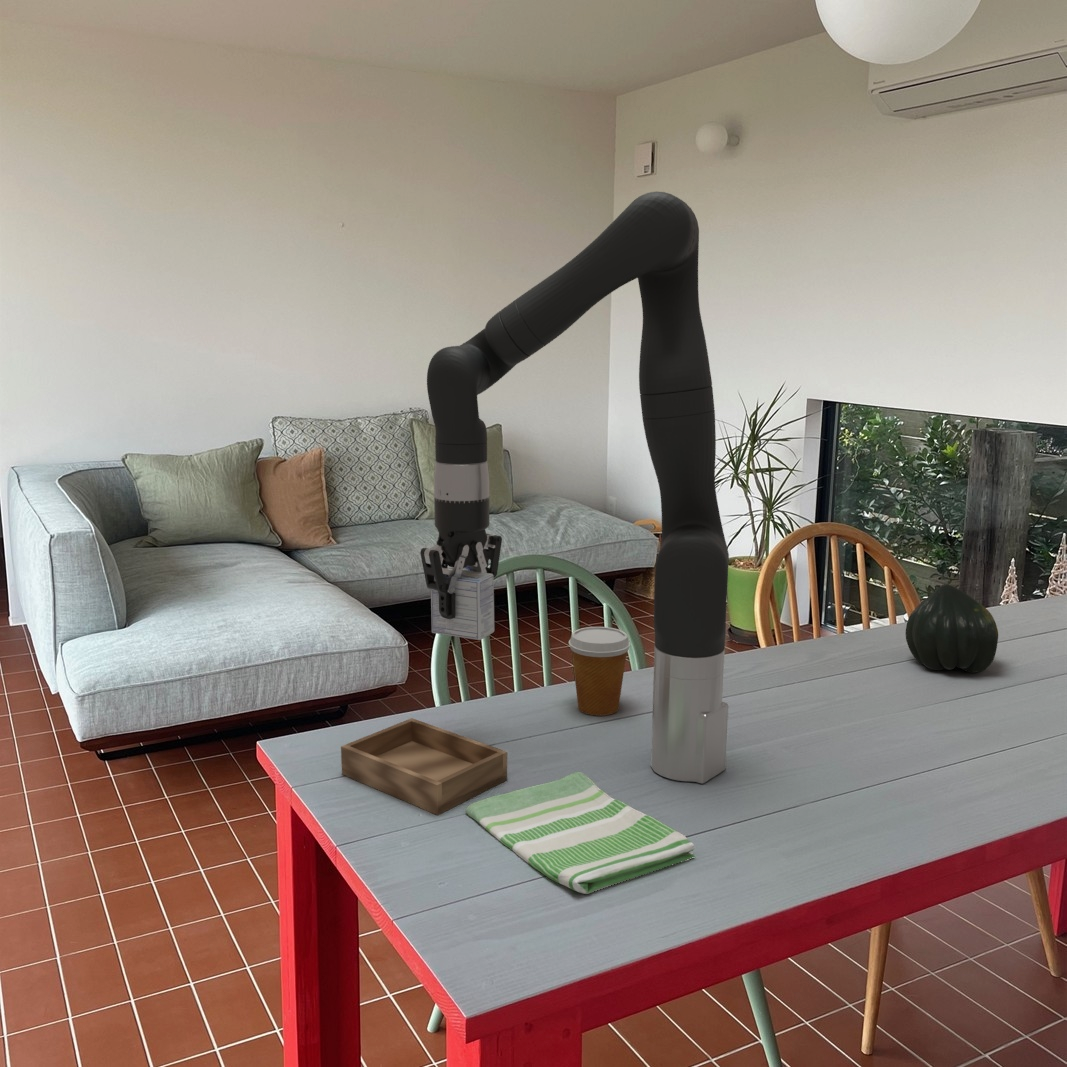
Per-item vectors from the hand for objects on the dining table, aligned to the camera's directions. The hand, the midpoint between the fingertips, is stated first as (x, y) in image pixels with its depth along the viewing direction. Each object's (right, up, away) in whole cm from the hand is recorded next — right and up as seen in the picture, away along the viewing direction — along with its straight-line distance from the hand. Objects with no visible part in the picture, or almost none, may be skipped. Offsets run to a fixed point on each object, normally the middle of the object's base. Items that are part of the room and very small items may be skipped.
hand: (463, 613), depth 147 cm
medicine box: (0, -3, +1) cm, 3 cm away
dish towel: (+15, -25, -22) cm, 37 cm away
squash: (+83, -12, +38) cm, 92 cm away
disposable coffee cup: (+20, -16, +17) cm, 31 cm away
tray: (-5, -21, -7) cm, 23 cm away
